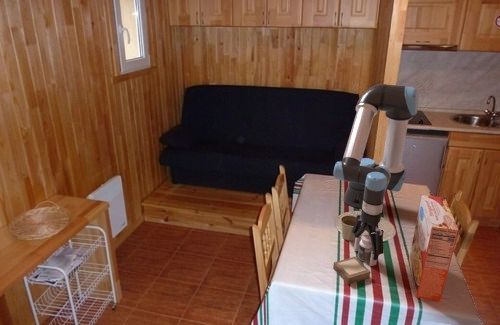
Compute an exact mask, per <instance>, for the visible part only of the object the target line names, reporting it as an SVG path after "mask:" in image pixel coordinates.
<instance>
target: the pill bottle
mask: <svg viewBox="0 0 500 325" xmlns="http://www.w3.org/2000/svg"><path fill="white" fill-rule="evenodd" d="M361 237H362V238H361V241H360V243H359V250H358V251H357V259H358V260H359V261H362V262H370V259H371V252H373V248H372V243H371V238H370V236H369V234H364V235H361Z"/></svg>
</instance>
